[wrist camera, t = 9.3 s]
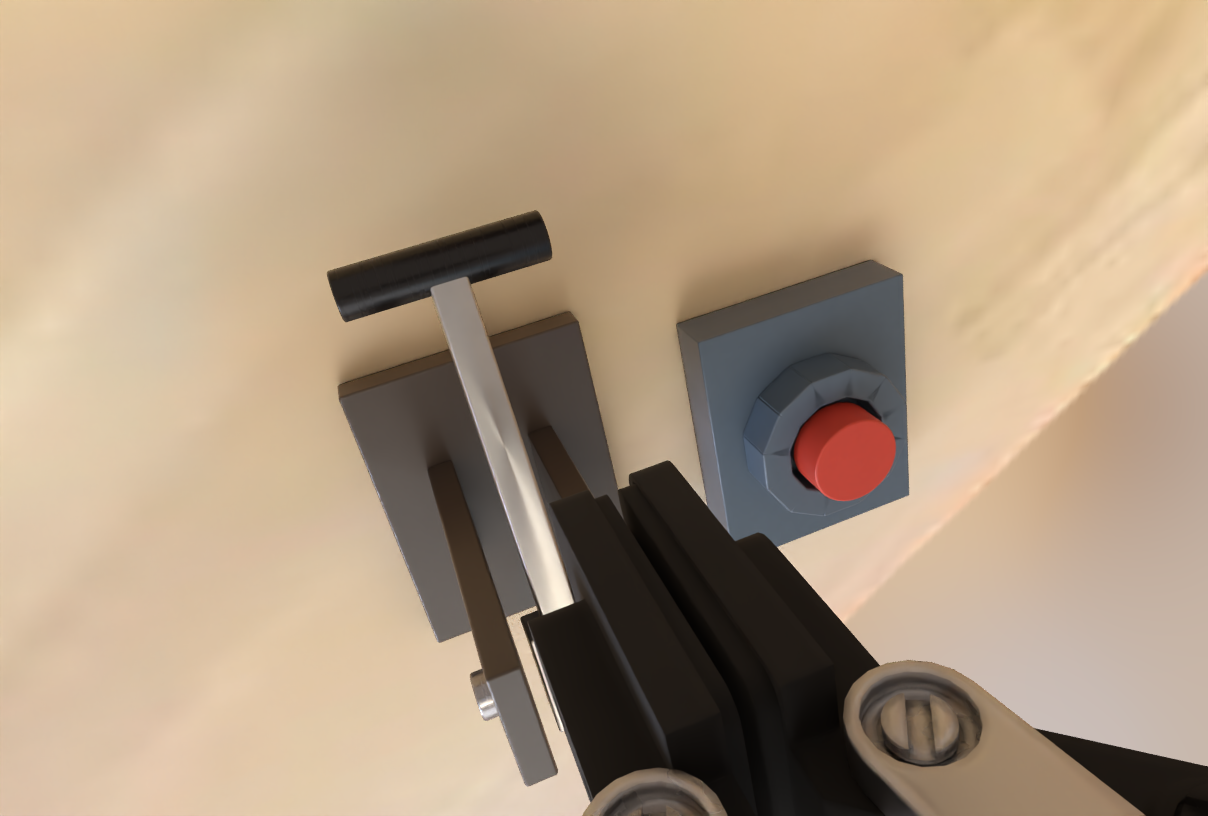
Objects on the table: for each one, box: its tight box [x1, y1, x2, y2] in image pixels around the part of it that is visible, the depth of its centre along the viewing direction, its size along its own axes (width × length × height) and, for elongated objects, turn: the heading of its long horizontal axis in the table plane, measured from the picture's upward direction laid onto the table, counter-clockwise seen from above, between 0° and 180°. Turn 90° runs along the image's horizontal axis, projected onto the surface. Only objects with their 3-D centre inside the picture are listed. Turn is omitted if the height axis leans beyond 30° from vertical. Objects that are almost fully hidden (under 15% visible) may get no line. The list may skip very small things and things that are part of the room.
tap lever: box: [327, 210, 576, 732], centre depth 24 cm, size 14×6×2 cm, turn 13°
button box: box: [677, 260, 909, 547], centre depth 36 cm, size 11×9×4 cm
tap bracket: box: [338, 312, 624, 786], centre depth 29 cm, size 12×9×13 cm
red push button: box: [794, 402, 896, 501], centre depth 34 cm, size 4×4×2 cm
